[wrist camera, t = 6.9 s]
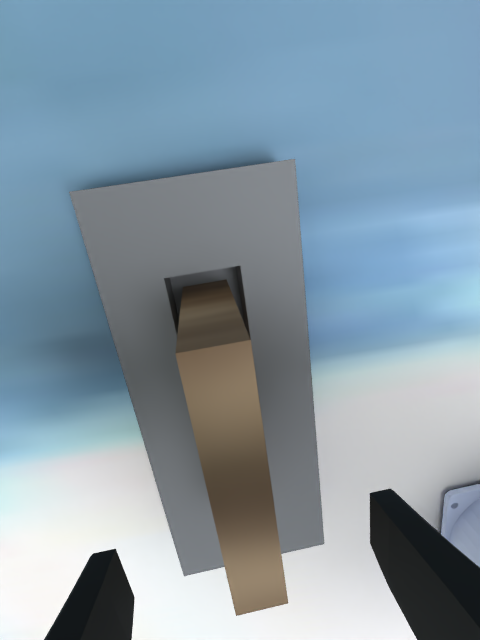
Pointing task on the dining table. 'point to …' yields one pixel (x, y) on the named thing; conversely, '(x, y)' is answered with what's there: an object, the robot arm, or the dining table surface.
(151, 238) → the panel with rectangular hole
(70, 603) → the robot arm
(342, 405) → the dining table surface
